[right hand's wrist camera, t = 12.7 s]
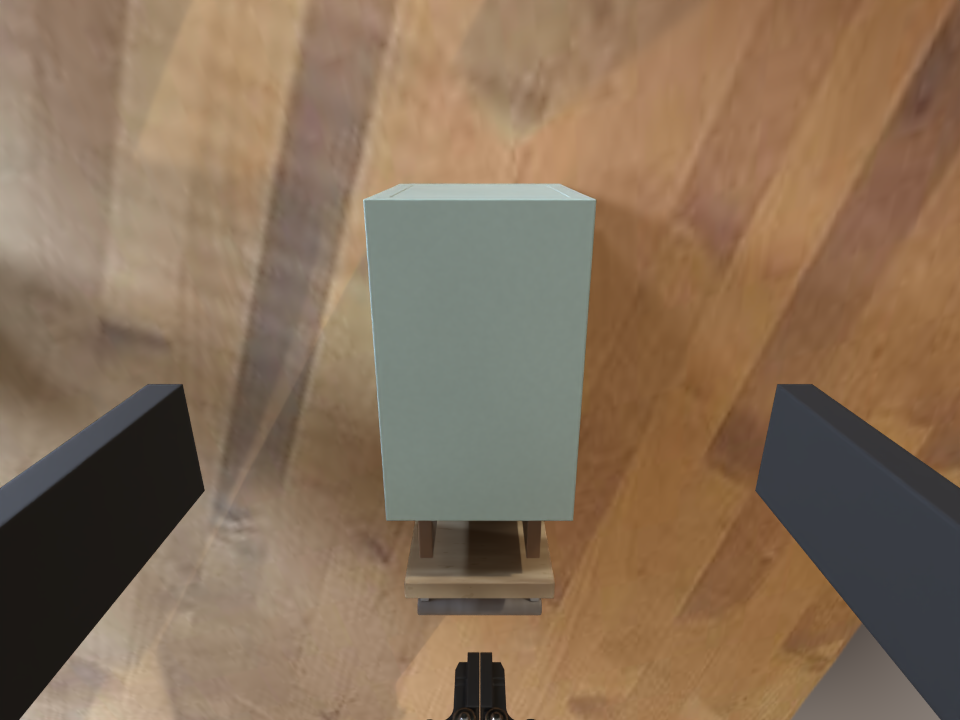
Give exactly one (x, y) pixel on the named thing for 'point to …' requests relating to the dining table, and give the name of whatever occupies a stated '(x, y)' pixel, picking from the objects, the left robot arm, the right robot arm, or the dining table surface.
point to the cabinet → (479, 347)
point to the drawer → (479, 567)
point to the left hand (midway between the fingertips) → (480, 662)
